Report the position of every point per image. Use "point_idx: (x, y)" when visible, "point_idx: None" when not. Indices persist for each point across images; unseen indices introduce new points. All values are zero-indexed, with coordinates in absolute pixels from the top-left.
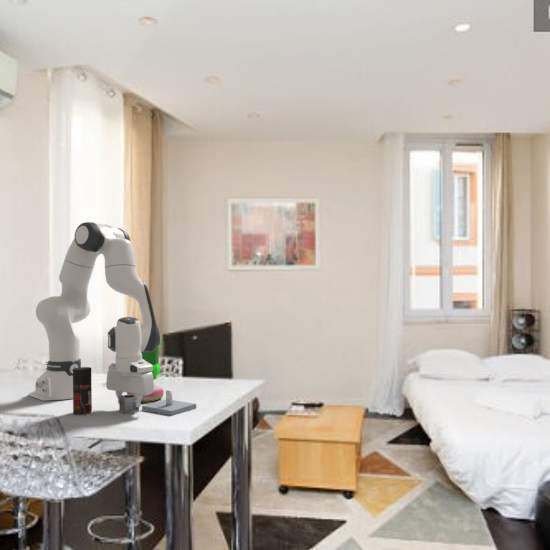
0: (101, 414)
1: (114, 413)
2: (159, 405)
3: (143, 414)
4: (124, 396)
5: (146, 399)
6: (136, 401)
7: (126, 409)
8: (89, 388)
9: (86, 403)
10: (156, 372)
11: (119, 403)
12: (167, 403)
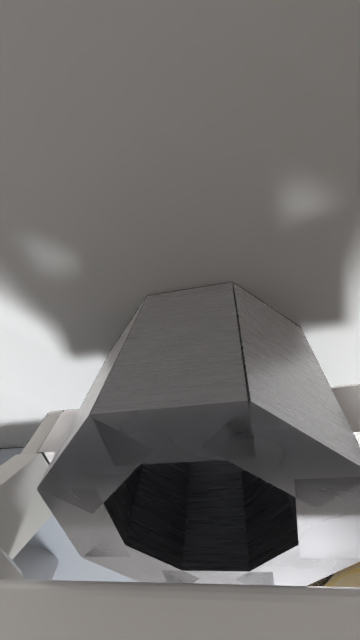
0: (352, 33)
1: (239, 218)
2: (58, 528)
3: (4, 377)
4: (294, 499)
5: (338, 584)
6: (16, 461)
7: (128, 329)
8: None
9: None
10: None
11: (235, 334)
12: (15, 562)
